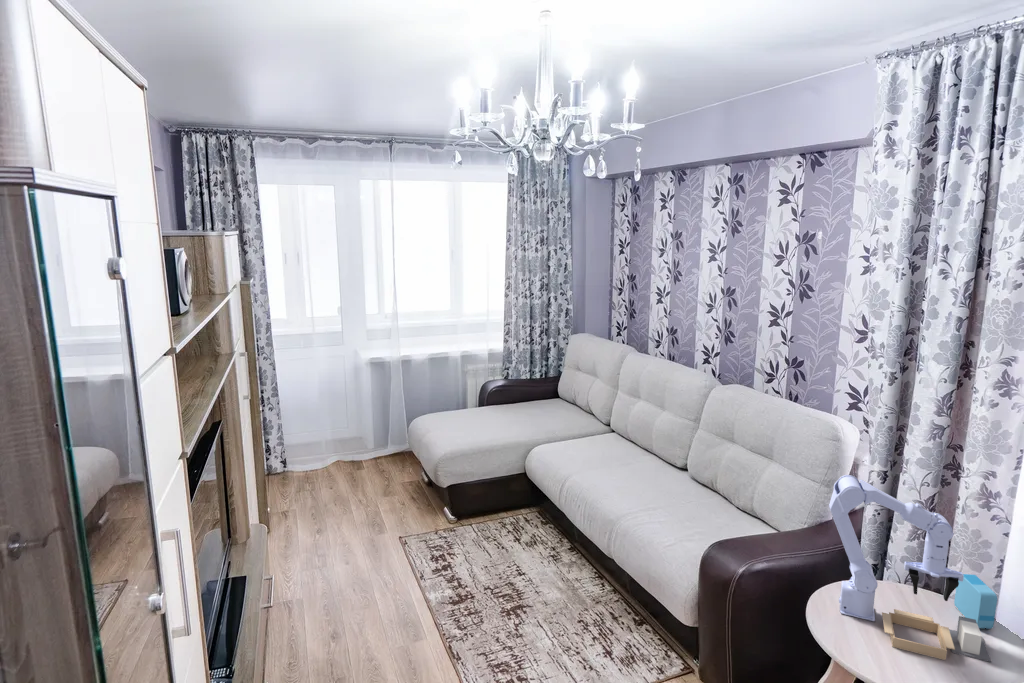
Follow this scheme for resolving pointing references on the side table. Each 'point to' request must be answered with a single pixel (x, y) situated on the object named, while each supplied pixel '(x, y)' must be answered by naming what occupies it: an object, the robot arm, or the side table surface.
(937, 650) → the carton
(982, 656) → the mat
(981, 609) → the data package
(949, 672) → the side table surface
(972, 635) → the capped box
